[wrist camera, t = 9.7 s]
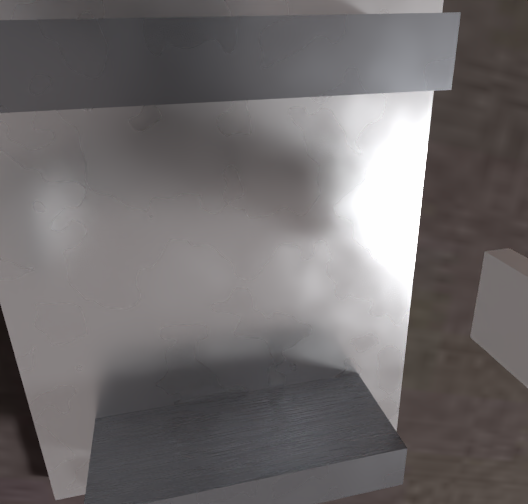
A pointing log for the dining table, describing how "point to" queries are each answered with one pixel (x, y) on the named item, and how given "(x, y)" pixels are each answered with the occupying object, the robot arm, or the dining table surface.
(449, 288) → the dining table surface
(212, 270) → the chuck plate
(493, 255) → the robot arm
